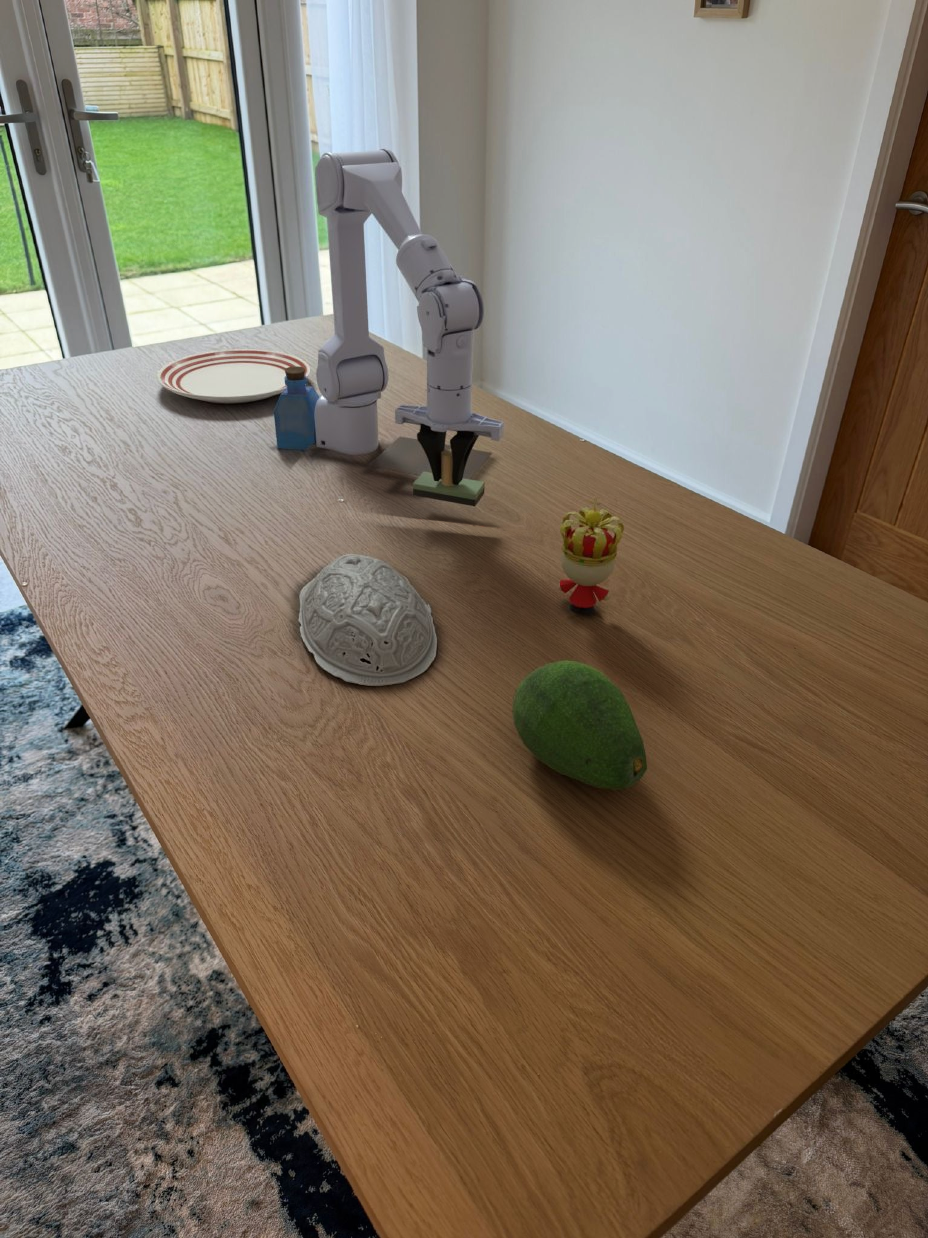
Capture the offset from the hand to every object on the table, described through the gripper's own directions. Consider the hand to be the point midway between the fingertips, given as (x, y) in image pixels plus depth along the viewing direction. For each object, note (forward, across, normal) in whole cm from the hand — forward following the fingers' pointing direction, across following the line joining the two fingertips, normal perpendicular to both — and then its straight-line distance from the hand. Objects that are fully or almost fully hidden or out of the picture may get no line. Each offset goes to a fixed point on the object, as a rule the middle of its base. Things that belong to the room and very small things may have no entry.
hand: (447, 479), depth 121 cm
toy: (+7, +23, -14) cm, 28 cm away
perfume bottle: (+7, -32, +16) cm, 36 cm away
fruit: (+7, +29, -40) cm, 50 cm away
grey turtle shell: (+7, 0, -26) cm, 27 cm away
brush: (+2, 0, 0) cm, 2 cm away
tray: (+6, -9, +16) cm, 19 cm away
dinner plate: (+7, -55, +33) cm, 64 cm away
